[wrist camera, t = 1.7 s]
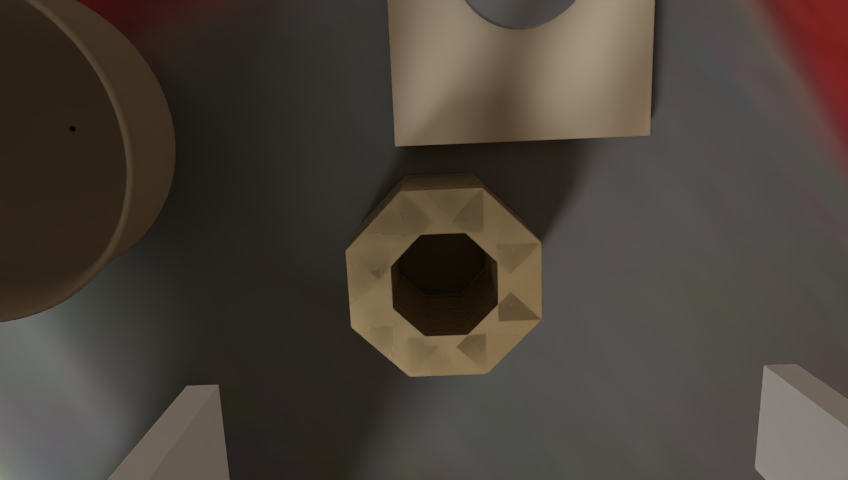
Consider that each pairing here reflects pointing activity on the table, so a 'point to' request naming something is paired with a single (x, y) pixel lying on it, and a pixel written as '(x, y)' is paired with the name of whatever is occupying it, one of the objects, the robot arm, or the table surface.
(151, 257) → the table surface
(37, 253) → the bowl
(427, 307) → the collar
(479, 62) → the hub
